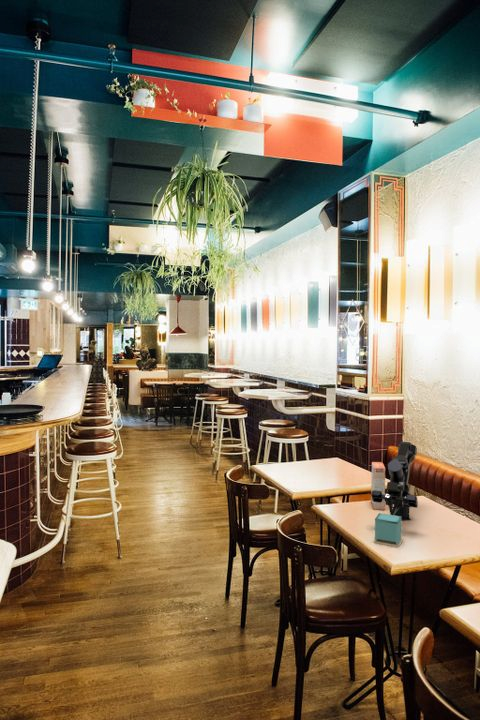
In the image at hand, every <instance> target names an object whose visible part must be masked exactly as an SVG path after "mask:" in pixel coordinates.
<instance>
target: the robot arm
mask: <svg viewBox="0 0 480 720" xmlns="http://www.w3.org/2000/svg"><path fill="white" fill-rule="evenodd" d="M417 454H418V448H417V446H416V445H415V444H412V442H410V441H400V442H399V443H398V447H397V454H396V455H395V456H393V457H392V459H391V461H389V463H388V464H387V469H388V473H389V476H390V479H389V481H387V483H386V493H385V495H383V494H382V492H381V491H377V490H373V491H372V493H371V492H370V494H371V495H370V497H371V496H372V500H373V501H374V502H379V503H380V502H382V500H383V499H385V506H388V509H389V515H395V516H402V517H401V521H403V520H404V521H406V520H407V521H410V520H411V517H410V508H418V507H419V506H418V503H419V500H418V496H417V495H414V494H411V493H410V492H411V491H410V488H409V478H410V471H411V470H410V469H411V464H412V462H414V460H415V459H416V456H417Z"/></svg>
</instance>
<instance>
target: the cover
mask: <svg viewBox="0 0 480 720" xmlns="http://www.w3.org/2000/svg"><path fill="white" fill-rule="evenodd" d="M401 517H402V516H395V515H390V513H389V514H388V513H382V512H378V514H377V515H376V517H375V518H374V540H375V541H377V540H378V539H381V540H387V541H392V542H396V544H398V543H399V541H400V539H401V537H402V520H401Z"/></svg>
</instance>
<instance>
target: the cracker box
mask: <svg viewBox="0 0 480 720" xmlns="http://www.w3.org/2000/svg"><path fill="white" fill-rule="evenodd" d="M370 487H371V489H370V490H371V491H370V494H371V493H372V491H373V490H377V491H381V492H382V494H383V495H385V494H386V466H385V465H384V463H383V462H382V461H372V462H371V486H370ZM370 502H371V507H372V510H375V511H376V510H378V511H385V508H386V507H385V506H386V503H385V499H383V500H382V502H380V503H379V502H374V501H373V500H372V496H371V495H370Z"/></svg>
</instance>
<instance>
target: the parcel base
mask: <svg viewBox="0 0 480 720" xmlns="http://www.w3.org/2000/svg"><path fill="white" fill-rule="evenodd" d="M403 541H404V537H403V536H401V539H400V541H399V543H398V544H396V542H392V541H387V540H381V539H378V540H377V541H375V539H374V540H373V543H374V544H379V545H384V546H390V547H394V548H395V547H396V548H400V546H401V544H402V543H403Z"/></svg>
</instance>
